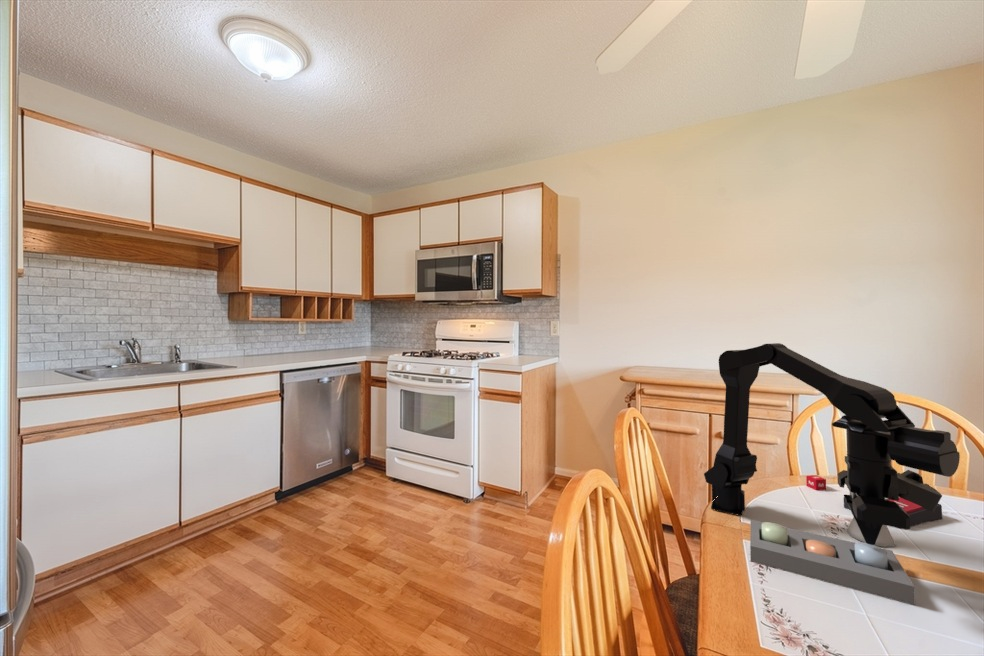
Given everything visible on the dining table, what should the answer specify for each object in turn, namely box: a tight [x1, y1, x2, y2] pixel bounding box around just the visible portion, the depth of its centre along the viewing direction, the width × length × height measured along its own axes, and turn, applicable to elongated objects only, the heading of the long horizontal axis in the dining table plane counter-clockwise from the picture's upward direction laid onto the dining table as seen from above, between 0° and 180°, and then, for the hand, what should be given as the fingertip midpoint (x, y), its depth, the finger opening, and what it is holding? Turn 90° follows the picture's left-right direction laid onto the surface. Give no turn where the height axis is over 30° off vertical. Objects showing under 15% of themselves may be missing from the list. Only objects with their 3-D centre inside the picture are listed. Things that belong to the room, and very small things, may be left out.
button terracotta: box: [806, 540, 835, 558], centre depth 73 cm, size 4×4×3 cm
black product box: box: [843, 497, 943, 530], centre depth 93 cm, size 11×4×15 cm
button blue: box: [855, 541, 888, 570], centre depth 69 cm, size 4×4×3 cm
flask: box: [846, 516, 897, 548], centre depth 82 cm, size 7×7×10 cm
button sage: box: [762, 521, 788, 546], centre depth 77 cm, size 4×4×3 cm
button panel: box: [749, 519, 916, 606], centre depth 73 cm, size 22×12×3 cm, turn 56°
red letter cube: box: [805, 474, 827, 491], centre depth 108 cm, size 3×3×3 cm
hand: (870, 543), depth 69 cm, fingers closed
